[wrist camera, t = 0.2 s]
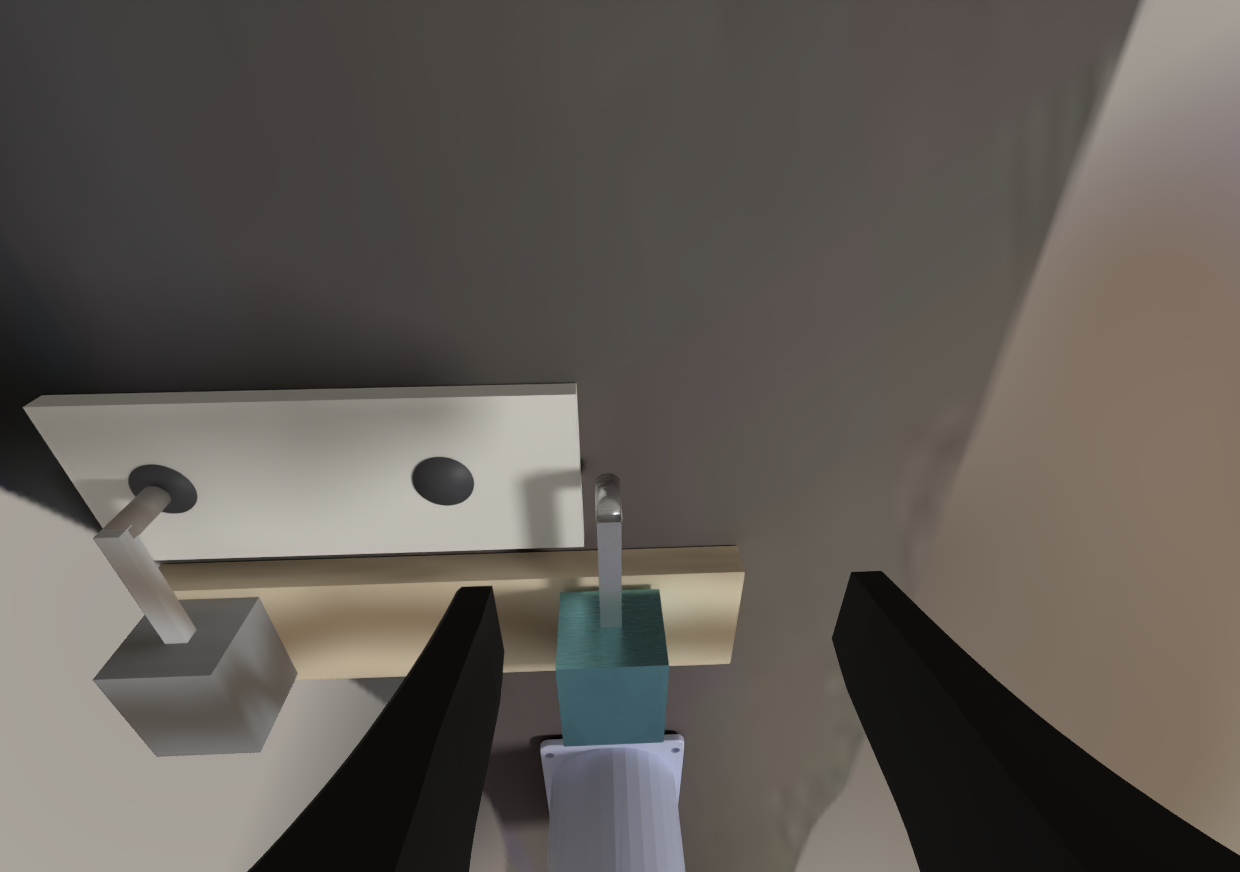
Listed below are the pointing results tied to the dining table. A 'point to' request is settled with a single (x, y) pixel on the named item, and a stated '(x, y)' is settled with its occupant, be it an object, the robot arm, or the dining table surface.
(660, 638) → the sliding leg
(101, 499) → the bolt plate
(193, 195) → the dining table surface
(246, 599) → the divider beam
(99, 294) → the dining table surface
